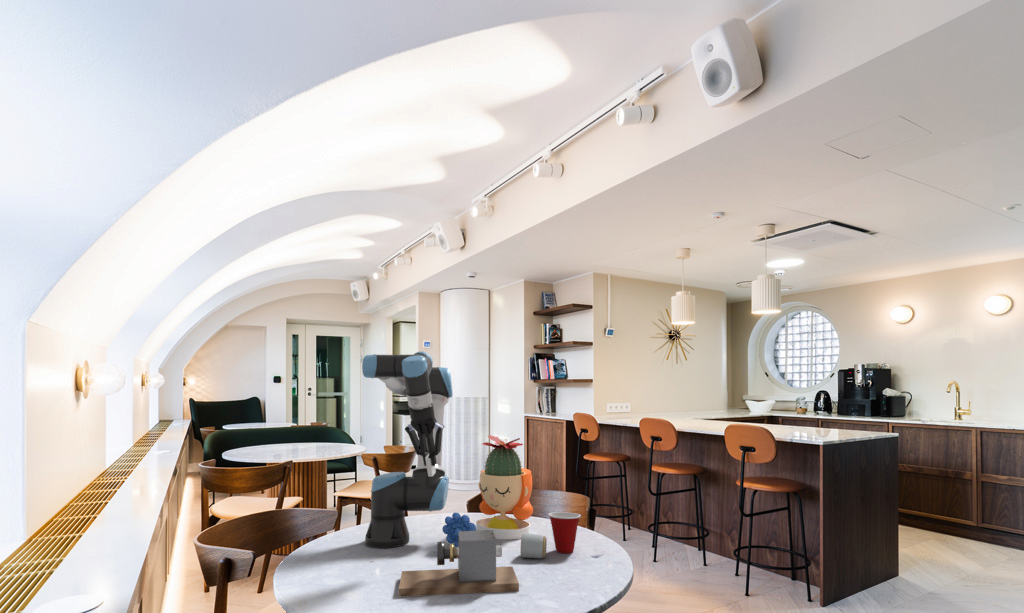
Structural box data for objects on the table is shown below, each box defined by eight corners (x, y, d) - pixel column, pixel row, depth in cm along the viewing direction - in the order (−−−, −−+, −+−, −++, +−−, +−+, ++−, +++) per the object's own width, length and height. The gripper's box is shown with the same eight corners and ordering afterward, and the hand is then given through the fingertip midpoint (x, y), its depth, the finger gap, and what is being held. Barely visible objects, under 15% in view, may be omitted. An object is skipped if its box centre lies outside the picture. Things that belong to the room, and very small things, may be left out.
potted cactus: (515, 542, 203) (515, 440, 207) (464, 533, 215) (465, 436, 219) (546, 528, 221) (545, 434, 225) (497, 520, 233) (497, 431, 237)
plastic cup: (584, 547, 197) (584, 511, 198) (577, 557, 187) (576, 518, 188) (553, 544, 200) (553, 508, 202) (544, 553, 190) (544, 515, 192)
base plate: (398, 596, 154) (398, 588, 154) (401, 578, 167) (401, 571, 168) (518, 590, 158) (518, 583, 158) (512, 573, 171) (512, 566, 172)
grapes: (440, 553, 191) (440, 515, 192) (443, 547, 198) (443, 510, 199) (475, 553, 191) (475, 515, 192) (477, 547, 197) (477, 510, 199)
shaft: (437, 568, 159) (437, 545, 160) (437, 561, 165) (437, 539, 166) (502, 565, 162) (502, 543, 162) (500, 558, 168) (500, 537, 168)
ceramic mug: (545, 561, 182) (544, 536, 183) (520, 560, 183) (520, 535, 184) (547, 552, 192) (547, 529, 193) (524, 551, 193) (524, 528, 194)
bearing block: (459, 583, 158) (459, 541, 159) (458, 571, 168) (458, 531, 169) (496, 581, 159) (496, 539, 160) (492, 569, 169) (492, 530, 170)
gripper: (396, 410, 180) (408, 479, 185) (435, 409, 177) (446, 480, 181) (407, 400, 187) (418, 468, 192) (444, 400, 184) (455, 469, 188)
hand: (432, 474), depth 187 cm, fingers closed
